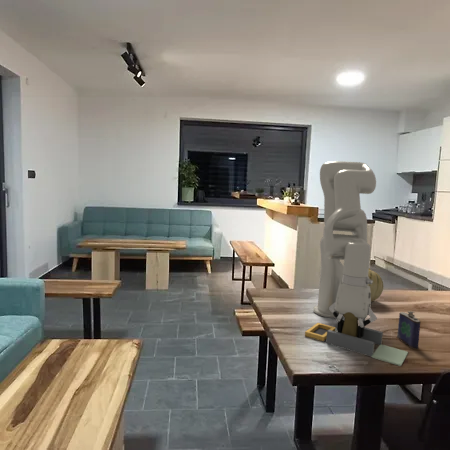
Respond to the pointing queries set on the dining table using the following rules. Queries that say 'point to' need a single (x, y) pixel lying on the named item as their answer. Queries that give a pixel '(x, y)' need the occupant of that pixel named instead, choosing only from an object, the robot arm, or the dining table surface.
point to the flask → (409, 329)
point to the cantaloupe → (375, 285)
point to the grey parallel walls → (356, 341)
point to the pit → (319, 331)
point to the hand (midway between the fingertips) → (350, 334)
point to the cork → (350, 324)
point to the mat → (390, 355)
